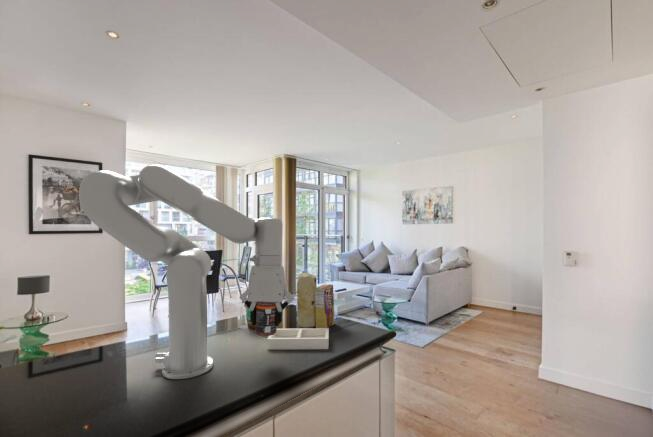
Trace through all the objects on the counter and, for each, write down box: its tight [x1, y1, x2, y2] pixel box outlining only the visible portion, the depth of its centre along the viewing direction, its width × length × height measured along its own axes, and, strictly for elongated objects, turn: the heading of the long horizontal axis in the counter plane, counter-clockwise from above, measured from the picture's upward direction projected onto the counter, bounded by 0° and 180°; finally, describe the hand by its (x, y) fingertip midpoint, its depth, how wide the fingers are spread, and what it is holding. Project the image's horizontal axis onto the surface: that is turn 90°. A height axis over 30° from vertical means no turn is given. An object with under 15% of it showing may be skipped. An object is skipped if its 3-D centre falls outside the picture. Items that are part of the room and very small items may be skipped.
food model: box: [296, 272, 318, 328], centre depth 120 cm, size 10×7×20 cm
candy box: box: [315, 283, 336, 329], centre depth 118 cm, size 9×4×15 cm, turn 155°
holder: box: [266, 327, 330, 350], centre depth 101 cm, size 19×10×3 cm, turn 89°
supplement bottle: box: [254, 302, 278, 337], centre depth 89 cm, size 6×6×11 cm
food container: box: [243, 302, 255, 331], centre depth 118 cm, size 12×6×10 cm, turn 73°
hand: (266, 323), depth 89 cm, fingers closed on supplement bottle, 6 cm apart
